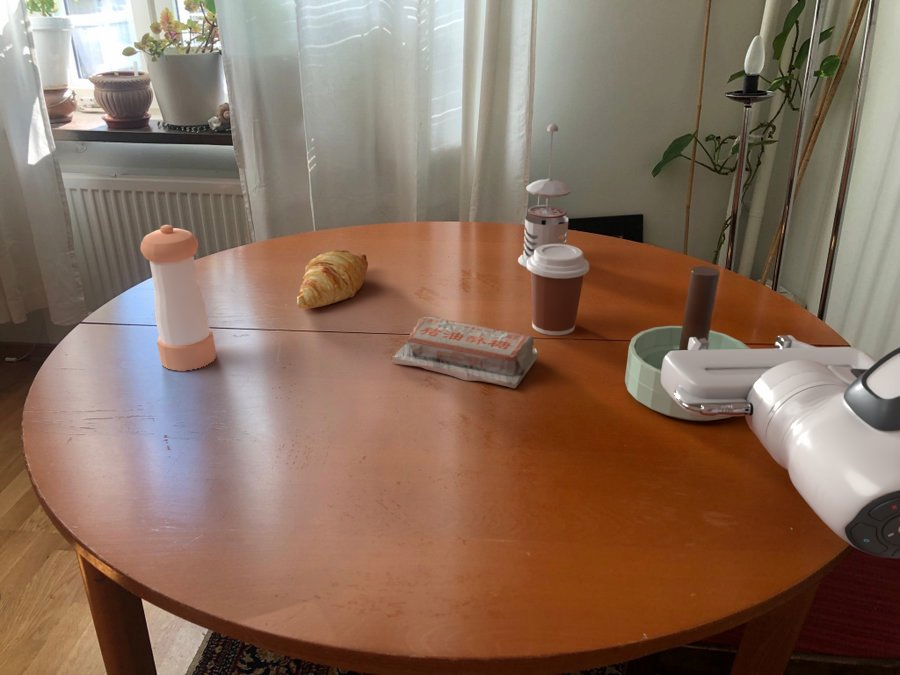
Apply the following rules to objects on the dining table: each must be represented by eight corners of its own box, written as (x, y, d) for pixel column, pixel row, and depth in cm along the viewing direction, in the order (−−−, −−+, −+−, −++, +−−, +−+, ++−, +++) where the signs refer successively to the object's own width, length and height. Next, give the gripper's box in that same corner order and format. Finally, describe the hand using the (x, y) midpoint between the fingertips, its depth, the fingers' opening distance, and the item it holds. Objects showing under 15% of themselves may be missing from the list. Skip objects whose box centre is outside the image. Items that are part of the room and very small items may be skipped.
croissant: (319, 337, 117) (336, 299, 112) (266, 301, 117) (282, 263, 113) (376, 286, 134) (394, 252, 130) (331, 256, 135) (347, 221, 130)
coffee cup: (549, 344, 107) (554, 266, 102) (511, 322, 114) (514, 247, 109) (596, 330, 111) (604, 254, 106) (557, 309, 118) (562, 237, 113)
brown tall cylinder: (692, 378, 97) (711, 262, 90) (710, 395, 93) (732, 275, 86) (661, 382, 96) (679, 265, 89) (679, 399, 92) (698, 279, 85)
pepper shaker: (219, 365, 101) (198, 230, 92) (163, 375, 98) (136, 237, 90) (213, 343, 107) (193, 214, 98) (159, 352, 104) (134, 220, 96)
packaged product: (541, 327, 101) (517, 358, 93) (539, 358, 103) (515, 392, 95) (421, 305, 107) (389, 333, 99) (422, 335, 109) (391, 365, 101)
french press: (520, 270, 134) (527, 129, 123) (514, 249, 144) (520, 117, 133) (574, 270, 134) (586, 129, 123) (565, 249, 144) (575, 117, 133)
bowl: (706, 359, 103) (712, 320, 100) (774, 416, 90) (784, 373, 87) (605, 372, 100) (609, 332, 97) (661, 433, 86) (667, 388, 84)
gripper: (681, 443, 68) (639, 370, 80) (898, 437, 69) (823, 366, 81) (692, 382, 65) (646, 317, 77) (918, 377, 66) (837, 313, 78)
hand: (738, 342), depth 79 cm, fingers open, 8 cm apart
